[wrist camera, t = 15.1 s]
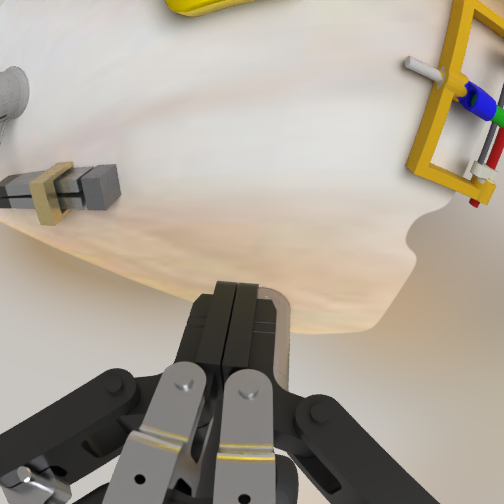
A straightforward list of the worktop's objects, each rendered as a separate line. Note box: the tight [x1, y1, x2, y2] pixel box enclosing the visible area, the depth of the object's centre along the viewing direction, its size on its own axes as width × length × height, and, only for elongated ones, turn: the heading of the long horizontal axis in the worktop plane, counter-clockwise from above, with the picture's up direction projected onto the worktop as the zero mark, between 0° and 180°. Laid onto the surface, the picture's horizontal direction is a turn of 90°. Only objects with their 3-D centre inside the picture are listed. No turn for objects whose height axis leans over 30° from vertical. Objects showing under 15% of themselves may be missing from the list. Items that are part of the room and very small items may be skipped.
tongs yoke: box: [81, 164, 121, 210], centre depth 37 cm, size 3×5×5 cm, turn 179°
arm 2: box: [0, 189, 87, 210], centre depth 38 cm, size 20×2×4 cm, turn 88°
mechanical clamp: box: [405, 0, 504, 208], centre depth 24 cm, size 18×6×30 cm
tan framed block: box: [29, 162, 73, 226], centre depth 36 cm, size 3×6×7 cm, turn 179°
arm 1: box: [0, 167, 94, 197], centre depth 37 cm, size 20×2×4 cm, turn 89°
